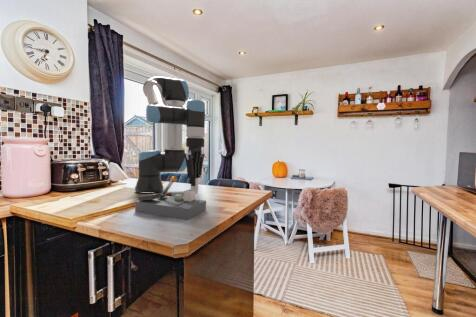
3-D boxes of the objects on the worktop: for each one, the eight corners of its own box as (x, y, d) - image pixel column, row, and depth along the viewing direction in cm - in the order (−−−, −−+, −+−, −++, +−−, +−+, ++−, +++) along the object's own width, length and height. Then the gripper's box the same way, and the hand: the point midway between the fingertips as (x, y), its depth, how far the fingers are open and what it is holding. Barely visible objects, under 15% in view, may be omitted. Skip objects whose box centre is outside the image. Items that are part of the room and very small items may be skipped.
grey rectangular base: (158, 203, 107) (158, 190, 107) (205, 210, 99) (206, 195, 99) (135, 211, 94) (135, 196, 94) (187, 219, 86) (187, 203, 86)
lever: (161, 194, 102) (175, 174, 99) (165, 198, 101) (179, 178, 99) (157, 195, 100) (171, 175, 97) (161, 199, 99) (175, 179, 96)
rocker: (147, 198, 99) (146, 194, 99) (160, 197, 97) (160, 192, 97) (138, 200, 95) (137, 196, 95) (152, 199, 92) (152, 195, 92)
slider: (189, 198, 100) (189, 188, 100) (195, 199, 99) (195, 189, 99) (183, 200, 97) (183, 190, 96) (190, 201, 96) (190, 191, 95)
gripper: (195, 138, 107) (194, 189, 109) (178, 136, 95) (178, 195, 96) (210, 138, 105) (209, 191, 106) (195, 137, 92) (194, 197, 94)
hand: (194, 193), depth 101 cm, fingers closed
